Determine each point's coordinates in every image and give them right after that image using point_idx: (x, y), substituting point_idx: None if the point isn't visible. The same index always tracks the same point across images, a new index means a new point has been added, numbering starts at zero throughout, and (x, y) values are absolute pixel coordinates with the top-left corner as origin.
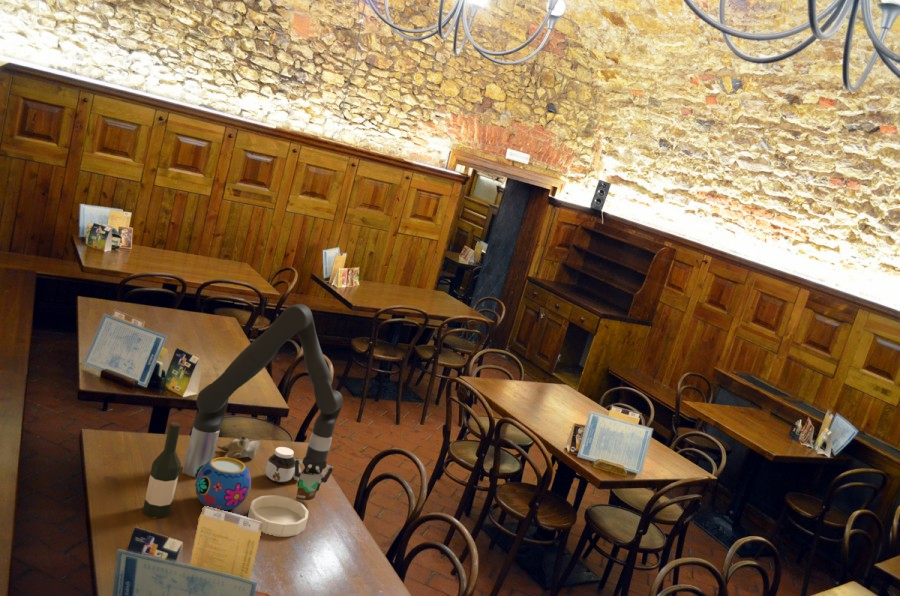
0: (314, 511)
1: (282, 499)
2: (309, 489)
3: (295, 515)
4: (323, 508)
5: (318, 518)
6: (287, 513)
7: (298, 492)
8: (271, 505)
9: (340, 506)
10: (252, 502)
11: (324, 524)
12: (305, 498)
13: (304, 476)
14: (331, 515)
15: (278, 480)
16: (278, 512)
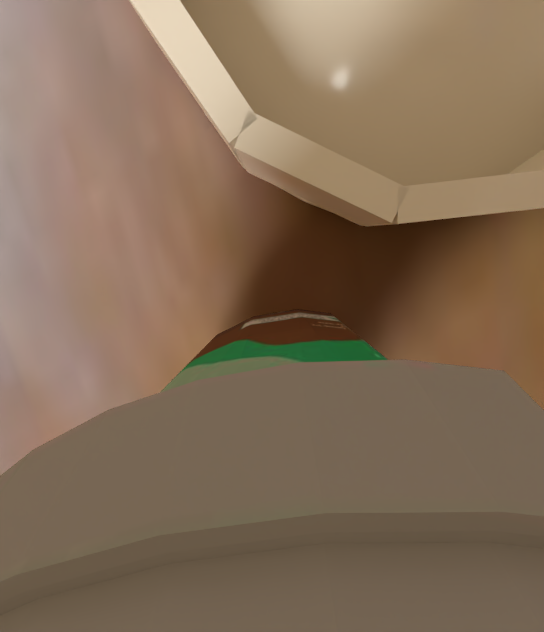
0: (158, 303)
1: (476, 178)
2: (187, 371)
3: (276, 106)
4: (113, 377)
5: (98, 206)
6: (353, 106)
7: (330, 326)
8: (521, 166)
9: (21, 456)
10: None
11: (22, 126)
12: (236, 327)
13: (379, 497)
14: (28, 305)
15: None
16: (438, 76)
